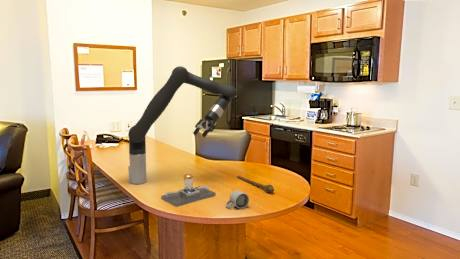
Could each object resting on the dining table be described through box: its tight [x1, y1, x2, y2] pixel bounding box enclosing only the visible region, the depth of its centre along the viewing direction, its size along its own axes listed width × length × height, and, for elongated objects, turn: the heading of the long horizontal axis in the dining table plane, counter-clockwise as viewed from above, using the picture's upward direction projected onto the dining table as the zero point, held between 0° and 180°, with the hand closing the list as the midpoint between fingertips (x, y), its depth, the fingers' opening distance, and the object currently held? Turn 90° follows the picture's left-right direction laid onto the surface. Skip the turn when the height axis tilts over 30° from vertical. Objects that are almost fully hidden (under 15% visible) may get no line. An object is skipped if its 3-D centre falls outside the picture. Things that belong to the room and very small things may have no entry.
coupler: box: [183, 173, 194, 193], centre depth 172 cm, size 5×5×10 cm
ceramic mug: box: [225, 189, 250, 210], centre depth 161 cm, size 10×8×7 cm
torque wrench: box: [236, 175, 275, 194], centre depth 193 cm, size 5×35×5 cm
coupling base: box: [161, 184, 216, 207], centre depth 173 cm, size 24×14×4 cm, turn 131°
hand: (198, 135), depth 190 cm, fingers open, 8 cm apart
